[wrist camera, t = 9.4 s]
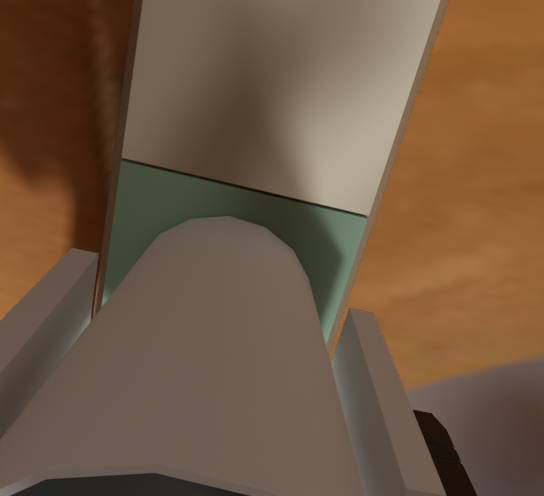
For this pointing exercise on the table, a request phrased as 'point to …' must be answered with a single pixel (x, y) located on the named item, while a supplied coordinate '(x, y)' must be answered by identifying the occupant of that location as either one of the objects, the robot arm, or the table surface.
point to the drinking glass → (192, 382)
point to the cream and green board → (265, 126)
